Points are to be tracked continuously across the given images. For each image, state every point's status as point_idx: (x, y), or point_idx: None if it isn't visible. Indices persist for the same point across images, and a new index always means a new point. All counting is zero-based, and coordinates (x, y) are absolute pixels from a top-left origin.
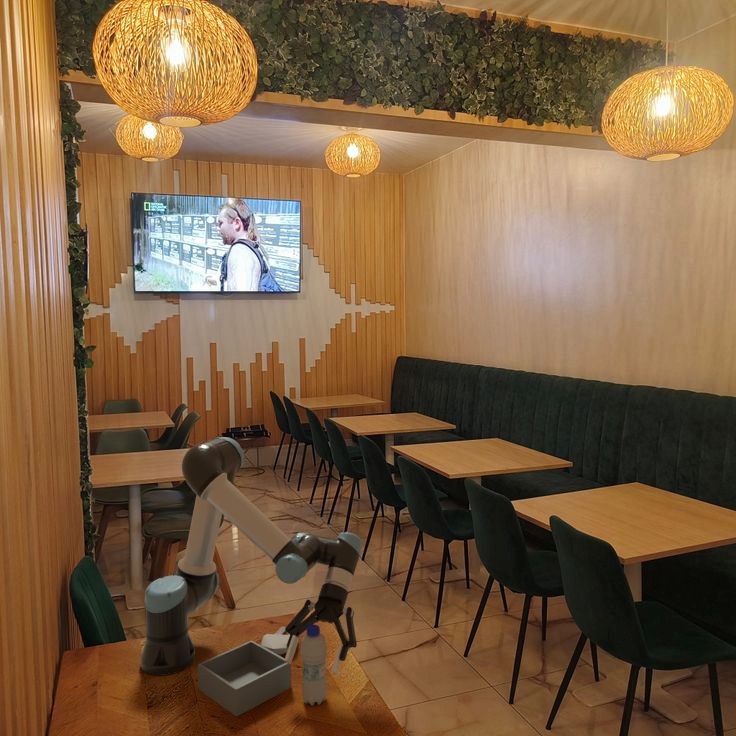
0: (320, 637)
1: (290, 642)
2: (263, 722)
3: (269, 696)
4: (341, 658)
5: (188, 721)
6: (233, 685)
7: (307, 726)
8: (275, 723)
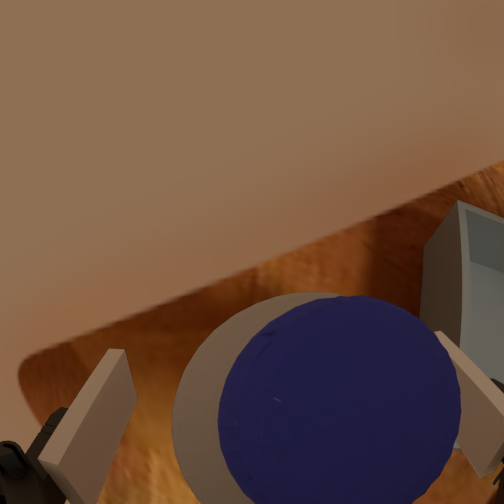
0: (213, 433)
1: (497, 388)
2: (351, 256)
3: None
4: (65, 410)
5: (475, 199)
6: (478, 214)
7: (223, 292)
8: (319, 266)
